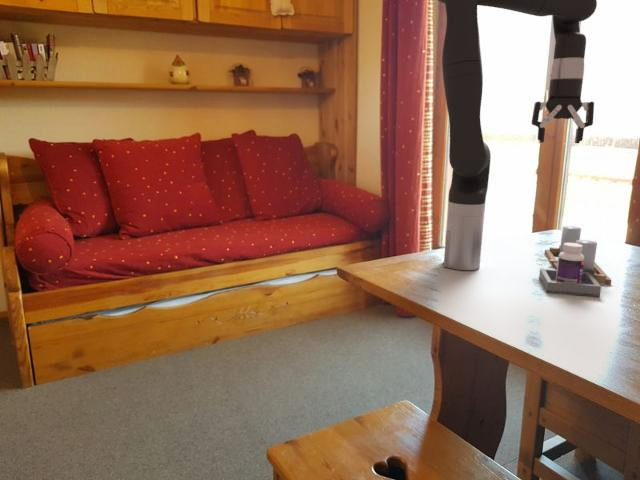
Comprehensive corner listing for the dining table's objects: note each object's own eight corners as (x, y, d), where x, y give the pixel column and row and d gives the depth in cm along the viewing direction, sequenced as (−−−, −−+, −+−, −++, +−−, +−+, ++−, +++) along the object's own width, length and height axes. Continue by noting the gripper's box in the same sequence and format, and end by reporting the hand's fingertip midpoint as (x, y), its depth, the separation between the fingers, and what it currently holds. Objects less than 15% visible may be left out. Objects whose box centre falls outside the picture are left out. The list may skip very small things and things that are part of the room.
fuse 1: (560, 260, 143) (564, 228, 140) (557, 256, 147) (561, 225, 145) (578, 261, 142) (582, 230, 139) (574, 257, 146) (579, 226, 144)
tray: (546, 292, 117) (547, 282, 116) (539, 278, 127) (540, 268, 126) (599, 297, 114) (601, 286, 113) (587, 282, 124) (589, 272, 124)
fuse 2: (573, 279, 127) (578, 243, 124) (569, 273, 131) (574, 239, 129) (594, 280, 125) (599, 244, 123) (589, 275, 130) (594, 240, 128)
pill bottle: (583, 289, 117) (589, 248, 115) (558, 287, 118) (563, 246, 116) (576, 281, 122) (582, 242, 120) (552, 280, 123) (557, 241, 121)
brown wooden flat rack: (557, 280, 125) (559, 268, 125) (541, 253, 150) (542, 243, 149) (610, 284, 123) (612, 272, 122) (585, 256, 147) (586, 246, 146)
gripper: (538, 77, 128) (531, 143, 132) (601, 76, 125) (592, 144, 129) (534, 79, 136) (528, 141, 139) (594, 78, 132) (586, 142, 136)
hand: (559, 142), depth 134 cm, fingers open, 8 cm apart
